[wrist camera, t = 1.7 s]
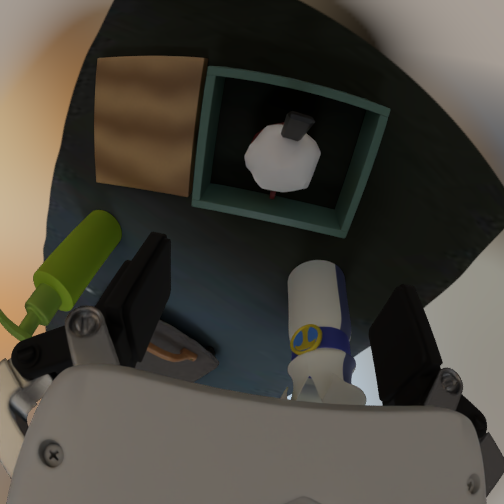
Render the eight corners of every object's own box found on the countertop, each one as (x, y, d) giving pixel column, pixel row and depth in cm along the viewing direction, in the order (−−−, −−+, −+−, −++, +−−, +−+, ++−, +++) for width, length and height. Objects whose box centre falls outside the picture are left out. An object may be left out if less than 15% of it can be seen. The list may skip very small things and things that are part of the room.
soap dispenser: (88, 197, 34) (-10, 301, 18) (127, 226, 36) (43, 345, 20) (78, 226, 37) (-5, 326, 21) (113, 252, 39) (42, 364, 23)
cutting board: (104, 57, 23) (97, 58, 22) (208, 58, 23) (204, 57, 22) (102, 177, 32) (96, 182, 31) (191, 191, 32) (188, 197, 31)
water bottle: (270, 276, 38) (248, 475, 18) (327, 247, 34) (349, 465, 14) (302, 312, 41) (298, 486, 21) (355, 288, 38) (381, 474, 18)
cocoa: (282, 193, 31) (279, 262, 21) (233, 161, 29) (205, 215, 20) (339, 127, 26) (370, 166, 16) (288, 89, 24) (290, 101, 15)
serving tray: (155, 398, 68) (149, 417, 63) (79, 357, 62) (70, 375, 57) (233, 345, 48) (228, 376, 43) (113, 275, 42) (95, 303, 37)
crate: (219, 66, 24) (207, 65, 20) (376, 102, 24) (390, 109, 20) (202, 187, 32) (191, 206, 28) (338, 217, 32) (345, 238, 28)
